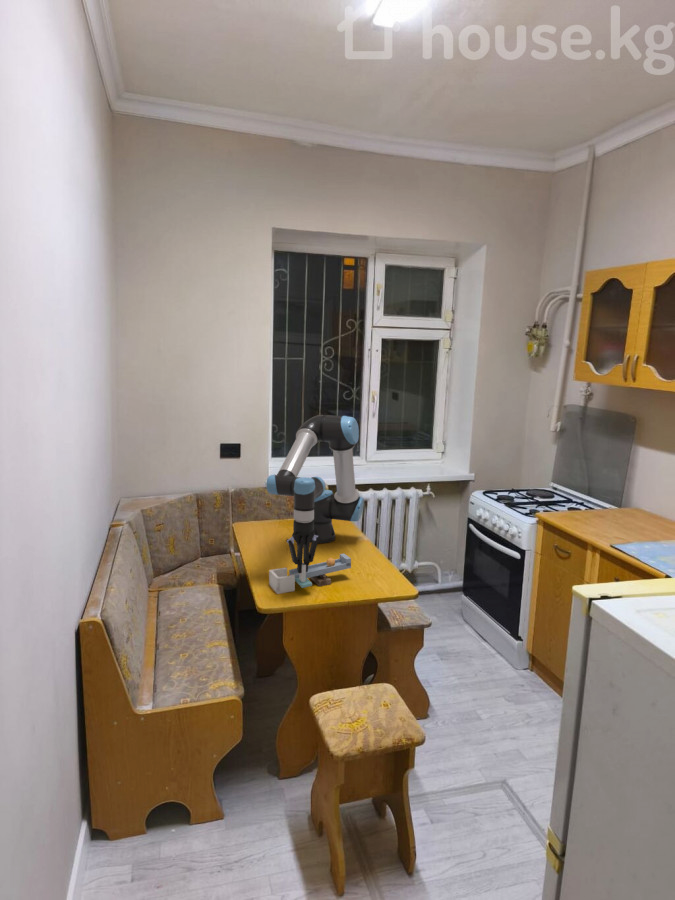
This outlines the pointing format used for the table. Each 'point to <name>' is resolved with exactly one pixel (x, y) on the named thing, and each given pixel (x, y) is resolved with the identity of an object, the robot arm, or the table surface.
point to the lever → (322, 569)
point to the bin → (281, 581)
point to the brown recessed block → (321, 580)
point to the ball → (330, 562)
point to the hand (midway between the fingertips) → (302, 580)
